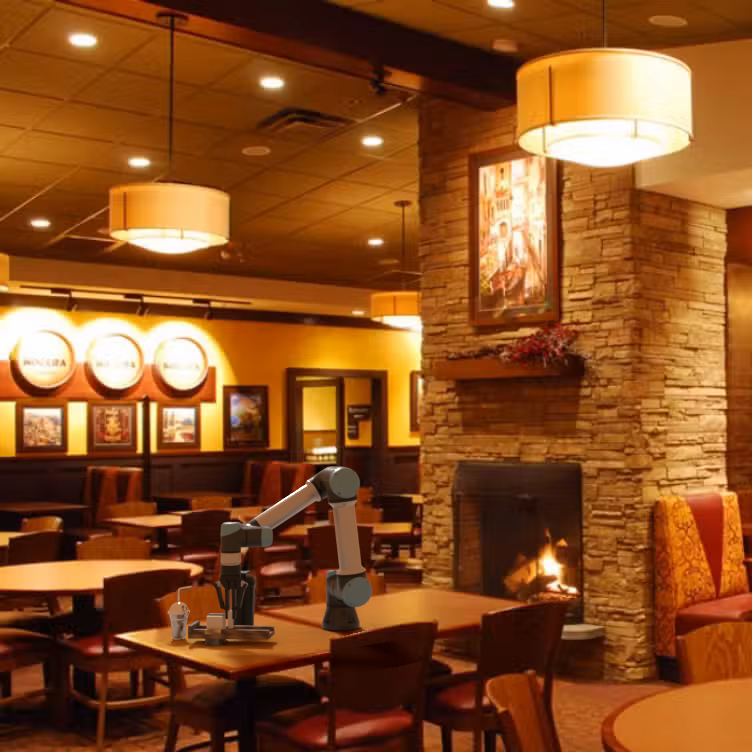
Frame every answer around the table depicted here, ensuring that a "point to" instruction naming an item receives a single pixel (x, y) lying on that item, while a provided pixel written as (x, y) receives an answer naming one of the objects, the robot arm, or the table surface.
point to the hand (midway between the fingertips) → (230, 627)
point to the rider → (216, 621)
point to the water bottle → (246, 601)
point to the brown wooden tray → (228, 633)
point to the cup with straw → (179, 617)
